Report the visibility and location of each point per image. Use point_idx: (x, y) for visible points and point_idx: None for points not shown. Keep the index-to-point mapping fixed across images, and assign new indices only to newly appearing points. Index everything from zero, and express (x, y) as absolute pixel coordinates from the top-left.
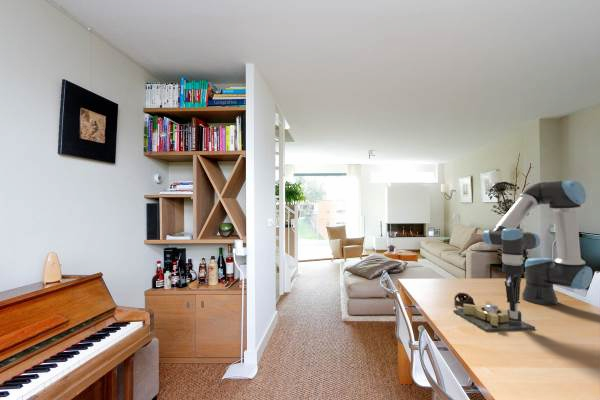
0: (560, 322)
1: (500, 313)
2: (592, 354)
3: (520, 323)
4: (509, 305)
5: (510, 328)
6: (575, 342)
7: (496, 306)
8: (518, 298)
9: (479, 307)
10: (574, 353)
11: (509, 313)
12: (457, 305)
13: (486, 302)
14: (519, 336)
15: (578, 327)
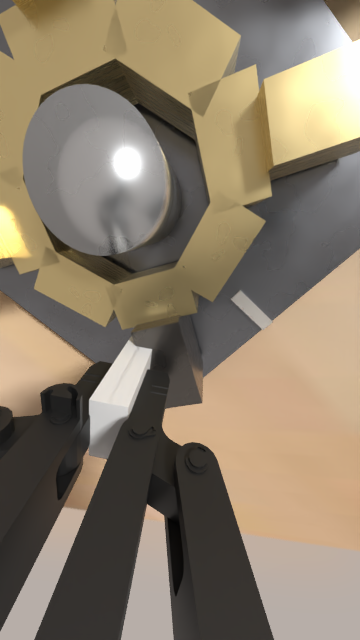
0: (348, 481)
1: (85, 279)
2: (64, 504)
3: None
4: (105, 377)
5: (48, 325)
6: None
7: (117, 242)
8: (167, 527)
9: (115, 34)
10: None
11: (131, 337)
12: None
13: (327, 59)
14: (18, 356)
15: (313, 516)
